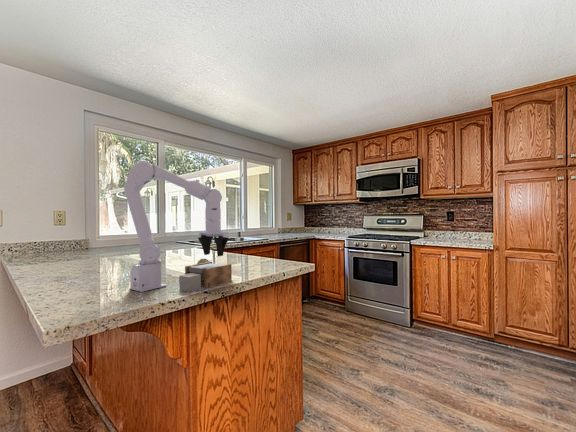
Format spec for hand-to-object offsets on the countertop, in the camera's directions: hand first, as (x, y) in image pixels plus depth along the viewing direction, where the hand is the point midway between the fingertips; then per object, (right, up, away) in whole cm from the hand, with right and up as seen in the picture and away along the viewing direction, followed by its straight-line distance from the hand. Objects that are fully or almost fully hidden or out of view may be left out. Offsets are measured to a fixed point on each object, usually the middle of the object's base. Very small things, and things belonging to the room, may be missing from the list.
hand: (213, 255), depth 111 cm
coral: (-7, -10, +13) cm, 18 cm away
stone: (-5, -10, -12) cm, 17 cm away
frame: (-1, -10, -2) cm, 10 cm away
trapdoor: (-2, -5, -2) cm, 6 cm away
